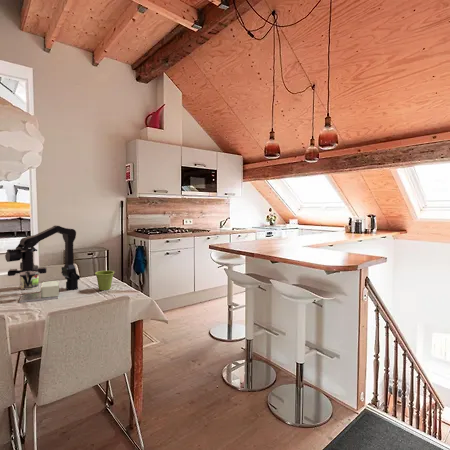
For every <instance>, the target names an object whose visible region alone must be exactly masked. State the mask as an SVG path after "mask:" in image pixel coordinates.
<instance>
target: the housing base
mask: <svg viewBox="0 0 450 450" xmlns="http://www.w3.org/2000/svg"><path fill="white" fill-rule="evenodd" d="M58 298H59V296H53V297H43V298H41V292H36V293H27V294H25V293H24V294H21V296H20V299H19V300H18V303H19V304H21V303H30V302H37V301H38V302H39V301H40V302H41V301H48V300H54V299H58Z"/></svg>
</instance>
